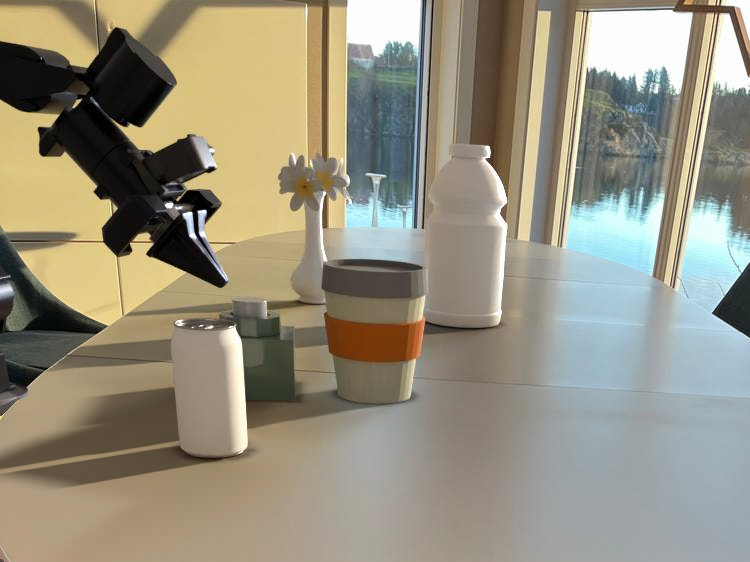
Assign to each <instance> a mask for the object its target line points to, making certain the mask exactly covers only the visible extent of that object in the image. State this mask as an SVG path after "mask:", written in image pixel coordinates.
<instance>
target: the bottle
mask: <svg viewBox="0 0 750 562" xmlns="http://www.w3.org/2000/svg"><path fill="white" fill-rule="evenodd" d="M448 155H449V156H451V157H452V158H450V160H448V162H446V164H444V165H443V166H442V168H441V169H440V170H439V171H438V173H437V174H436V175H435V177H434V179H433V181H432V182H431V184H430V188H429V191H428V193H427V199H428V200H429V202H430V203H431V205H432V208H433V209H432V211H431V212H430V213H429V215H428V216H427V217H426V218H425V219H424V259H423V261H424V262H423V266H425V267H426V268H427V280H428V294H427V295H425V301H424V308H423V315H422V316H423V317H425V322H427V323H429V324H432V325H438V326H443V327H451V328H461V329H462V328H463V329H483V328H492V327H496V326H498V325H499V324H500V322H501V317H502V313H503V312H502V297H503V284H504V271H505V269H504V268H505V254H506V242H507V241H506V240H507V231H508V224H507V223H506V222H505V220H504V219H503V217H502V215H501V209H502V208H503V207H504V206H506V204H507V203H508V200H507V196H506V191H505V189H504V186H503V183H502V181H501V179H500V176H499V175H498V174H497V172H496V171H495V169H494V168H493V166H492V165H491V164H490V163H489V162H488V161H487V159H490V158H491V148H490V146H489V145H485V144H484V145H483V144H472V143H471V144H470V143H456V142H455V143H453V142H452V143H450V144H449V147H448Z"/></svg>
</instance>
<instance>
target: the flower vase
mask: <svg viewBox="0 0 750 562" xmlns="http://www.w3.org/2000/svg"><path fill="white" fill-rule="evenodd" d="M305 164H306V161H305V156H304V155H303V154H300V155H299V156H298V157H297V160H296V157H295V154H294V153H293V152H291V153H290V154H289V157H288V165H284V166H281V168H280V172H279V173H278V175H277V180H278V181H279V191H278V193H279V194H280V195H284V194H288V193H290V194H293V195H292V196H291V198H290V201H289V209H290V210H291V211H292V212H297V211H298V210H300V209H301V208H302V206H303V208H304V209H303V210H304V218H305V219H304V221H305V222H304V223H305V224H304V227H305V229H304V230H305V233H304V235H305V236H304V240H305V241H304V250H303V254H302V256H301V260H300V262H299V263H298V265H297V266H296V267H295V268H294V269H293V270H292V272H291V274H290V276H289V286H290V288H291V289H292V291H293V292H294V293H295V294H296V295H298V301H299V302H300V303H304V304H313V305H326V300H325V293H324V290H323V289H321V285H322V273H323V262H325V261H328V259H327V256H326V253H325V248H324V240H323V239H324V238H323V220H322V219H323V205H324V200H325V197H326V195H327V197H328V198H329V199H330V200H331V201H333V202H336V201H337V198H338V195H337V193H338V192H339V193H340V194H341V196H342V197H343V198H344V200H345V201H347V202H348V203H349V204H350V205H352V197H351V195H350V193H349V192H348V190H347V187H349V186H350V182H351V180H350V176H349V175H348V174H346V173H345V174H343V173H344V167H345V166H344V165H345V164H344V158H343V157H342V158H341V159H340V161H339V163H338V159H336V157H329V158H327V159H326V161H325V160H324V158H323V157H322V155H321V154H320V153H319V152H316V153H315V158H313V157H311V158H310V159H309V164H310V167H308V166H306V165H305ZM338 165H339V166H338ZM335 173H336V174H335Z"/></svg>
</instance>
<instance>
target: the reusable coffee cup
mask: <svg viewBox="0 0 750 562" xmlns="http://www.w3.org/2000/svg"><path fill="white" fill-rule="evenodd" d="M321 289H323V290H324V293H325V300H326V304H325V308H326V311H325V312H323V320H324V325H325V333H326V341H327V349H328V353H329V354H331V356H332V360H333V365H334V374H335V383H336V389H337V395H338V396H339V398H342V399H344V400H348V401H351V402H355V403H356V402H357V403H363V404H378V405H379V404H381V405H382V404H396V403H400V402H404V401H407V400H409V399H410V398H411V395H412V387H413V381H414V374H415V368H416V361H417V359H418V358H419V357H420V356H421V350H422V346H423V345H422V343H423V337H424V331H425V326H426V325H425V324H426V321H425V317H423V308H424V301H425V295H427V294H428V280H427V268H426V267H425V266H424V265H422V264H419V263H414V262H408V261H400V260H389V259H375V258H337V259H327V261H325V262H323V273H322V285H321Z"/></svg>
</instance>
